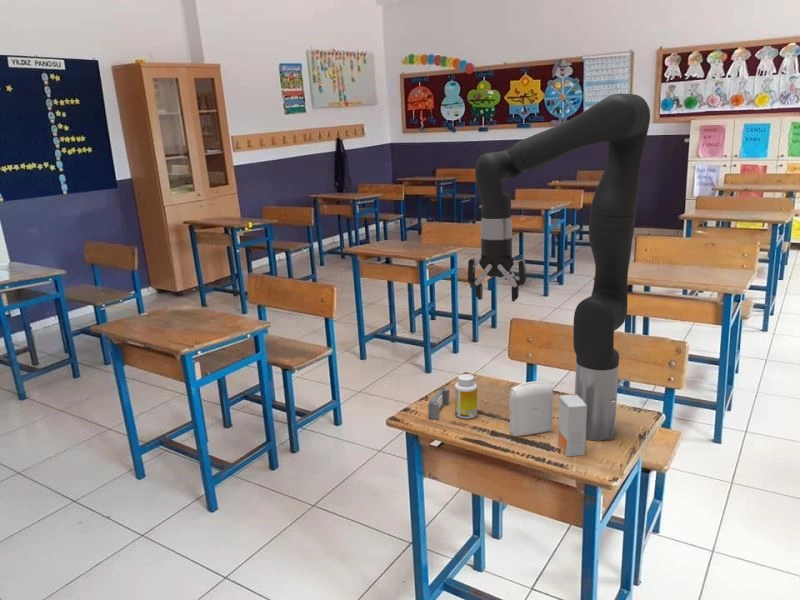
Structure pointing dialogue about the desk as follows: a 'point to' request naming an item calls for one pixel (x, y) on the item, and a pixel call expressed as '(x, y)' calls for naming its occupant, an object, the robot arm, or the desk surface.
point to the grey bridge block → (438, 403)
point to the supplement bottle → (466, 397)
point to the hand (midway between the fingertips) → (496, 299)
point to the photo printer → (531, 408)
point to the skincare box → (572, 425)
